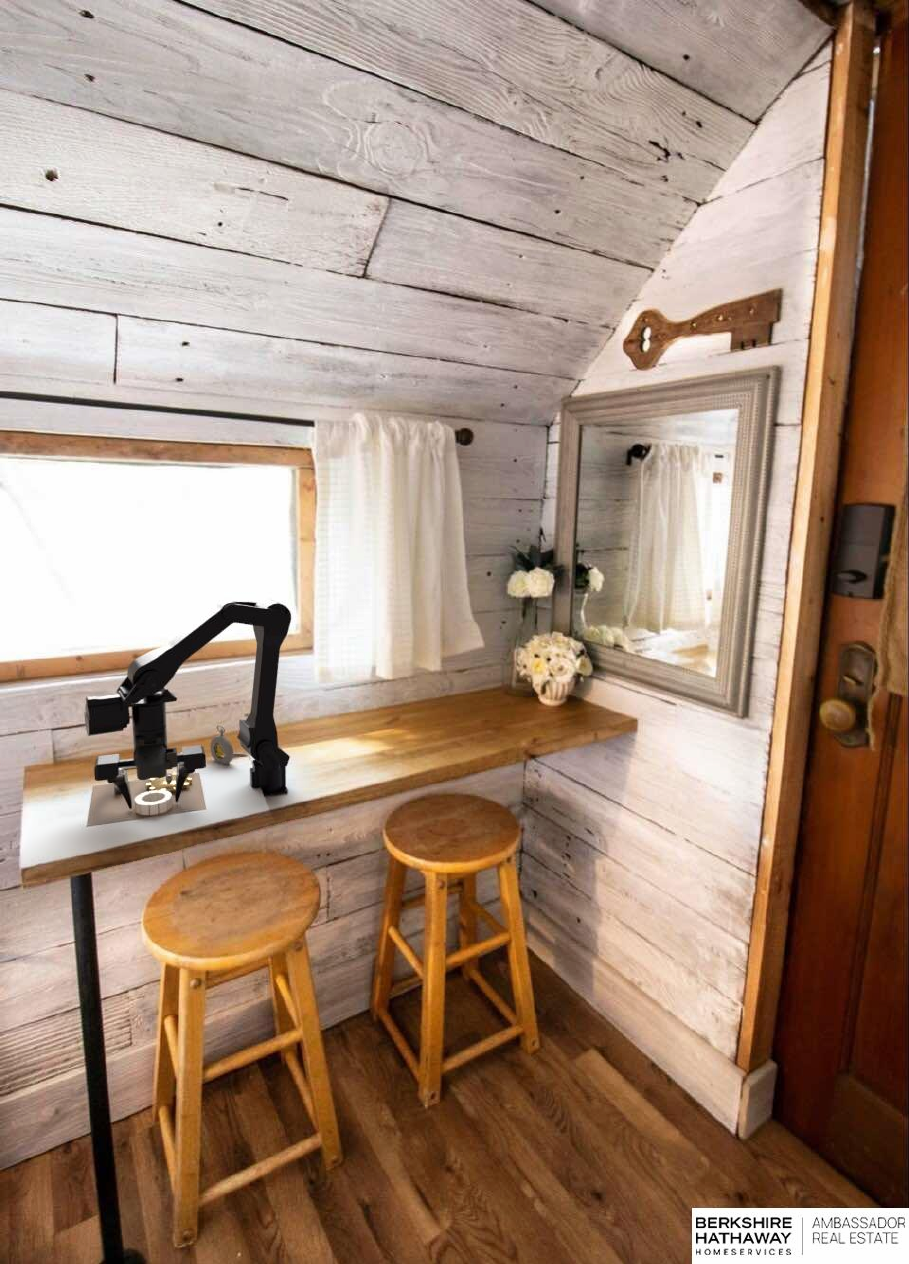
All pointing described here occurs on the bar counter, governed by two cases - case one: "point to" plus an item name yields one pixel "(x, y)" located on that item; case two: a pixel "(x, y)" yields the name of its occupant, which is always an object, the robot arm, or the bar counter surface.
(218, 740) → the pocket watch
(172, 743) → the bar counter surface
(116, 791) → the steel peg
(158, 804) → the ring gear
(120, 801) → the gear board
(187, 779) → the brass drive gear
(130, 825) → the bar counter surface
